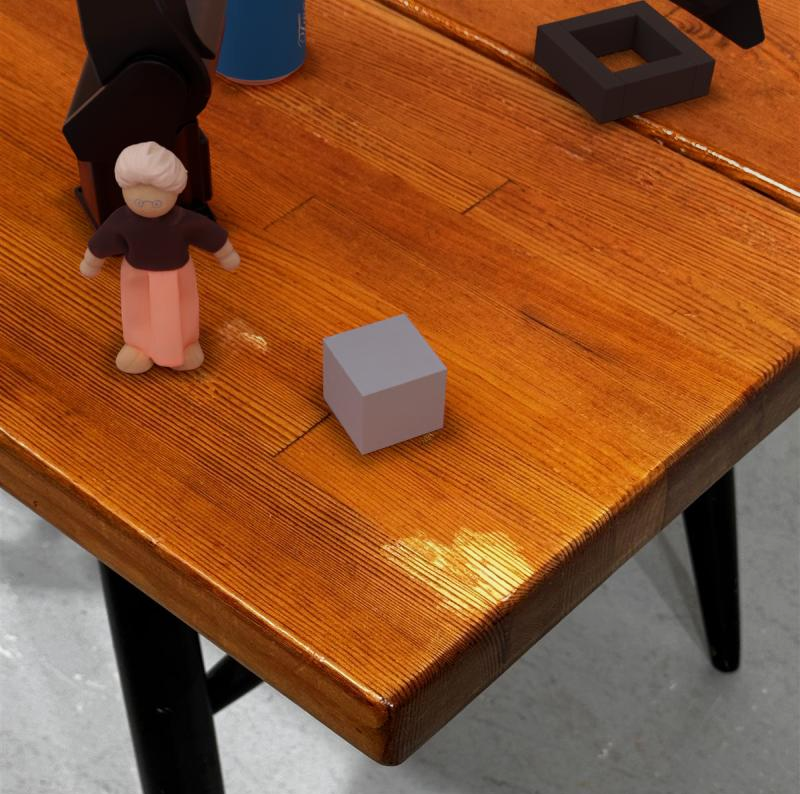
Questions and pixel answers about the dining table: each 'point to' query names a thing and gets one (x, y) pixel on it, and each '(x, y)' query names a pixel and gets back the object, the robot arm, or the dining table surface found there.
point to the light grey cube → (384, 383)
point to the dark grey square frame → (630, 88)
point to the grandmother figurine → (156, 260)
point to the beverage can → (262, 40)
